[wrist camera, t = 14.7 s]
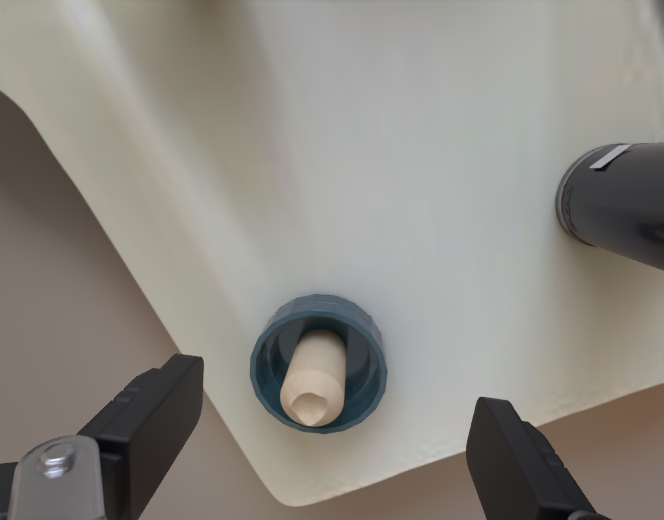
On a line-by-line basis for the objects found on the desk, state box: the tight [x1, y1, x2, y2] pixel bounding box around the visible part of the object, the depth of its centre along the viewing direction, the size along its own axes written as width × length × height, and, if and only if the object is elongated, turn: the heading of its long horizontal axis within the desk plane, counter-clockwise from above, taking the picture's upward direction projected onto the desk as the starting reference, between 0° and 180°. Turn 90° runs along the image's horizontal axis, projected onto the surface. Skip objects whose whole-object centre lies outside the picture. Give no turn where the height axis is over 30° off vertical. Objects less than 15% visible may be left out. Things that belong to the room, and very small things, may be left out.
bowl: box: [250, 294, 387, 434], centre depth 39 cm, size 13×13×5 cm
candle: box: [280, 329, 347, 427], centre depth 36 cm, size 6×6×10 cm
